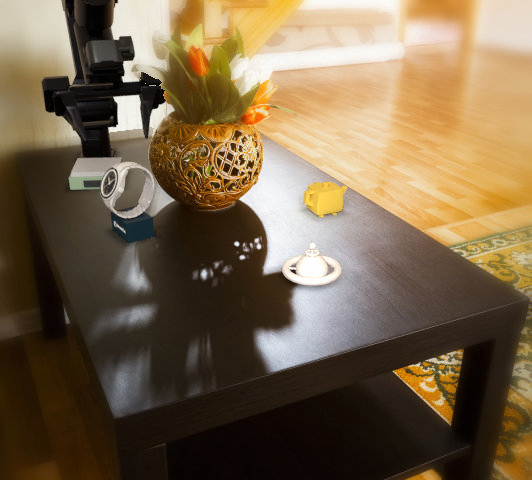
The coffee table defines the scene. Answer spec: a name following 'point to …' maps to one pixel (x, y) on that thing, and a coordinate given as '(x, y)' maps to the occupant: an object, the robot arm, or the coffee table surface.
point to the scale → (90, 172)
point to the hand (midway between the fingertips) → (116, 140)
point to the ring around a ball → (311, 268)
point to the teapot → (324, 198)
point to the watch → (133, 218)
